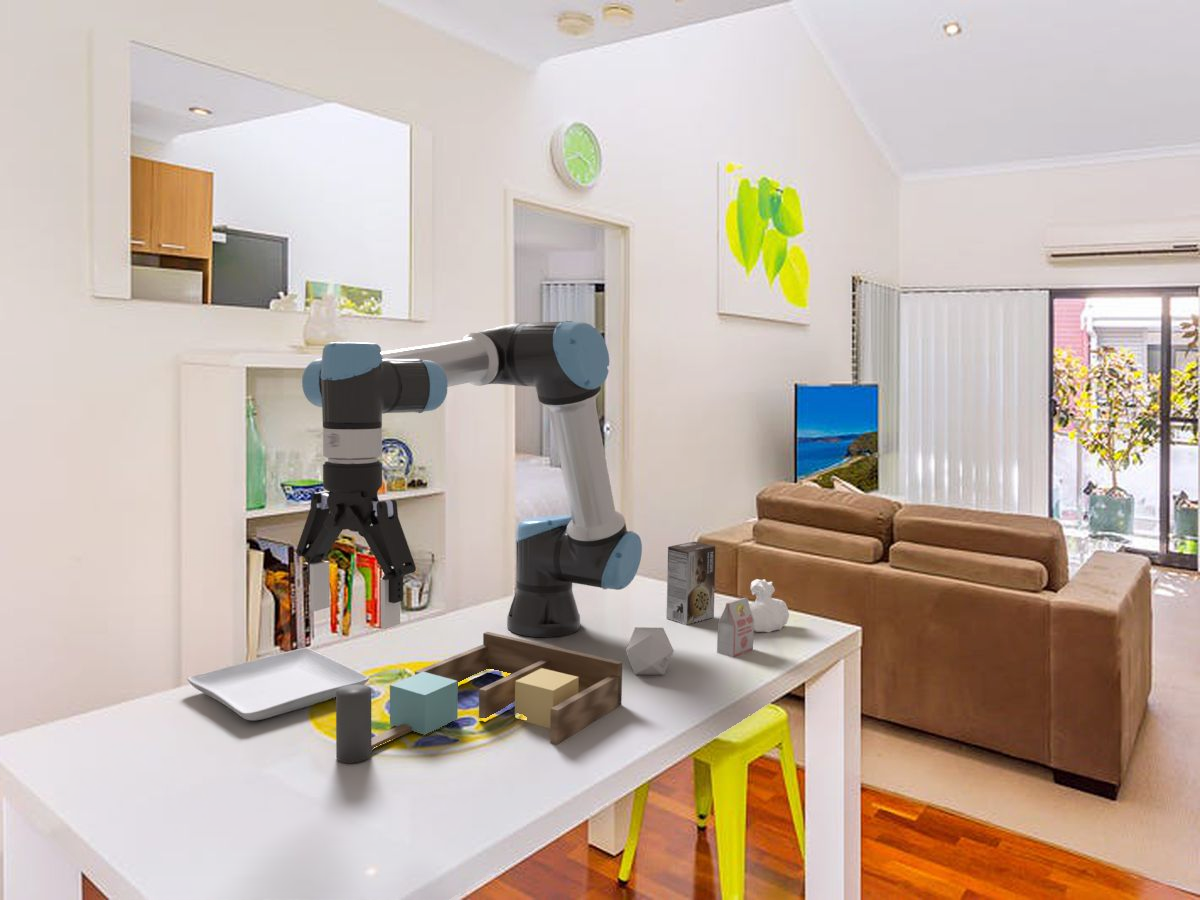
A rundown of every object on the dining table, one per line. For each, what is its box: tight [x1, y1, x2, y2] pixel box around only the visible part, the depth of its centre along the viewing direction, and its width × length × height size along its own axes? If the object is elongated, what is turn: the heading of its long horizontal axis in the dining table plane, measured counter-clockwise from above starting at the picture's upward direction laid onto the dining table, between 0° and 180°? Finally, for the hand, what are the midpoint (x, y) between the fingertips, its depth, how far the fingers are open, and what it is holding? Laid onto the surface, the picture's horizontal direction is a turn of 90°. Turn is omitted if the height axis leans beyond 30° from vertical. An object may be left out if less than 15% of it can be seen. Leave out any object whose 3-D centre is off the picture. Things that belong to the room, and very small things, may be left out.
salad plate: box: [187, 647, 370, 721], centre depth 138 cm, size 21×21×3 cm
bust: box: [749, 578, 790, 633], centre depth 181 cm, size 12×8×11 cm
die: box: [625, 626, 675, 676], centre depth 152 cm, size 8×9×10 cm
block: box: [514, 668, 579, 729], centre depth 131 cm, size 7×7×6 cm
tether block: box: [335, 672, 459, 763], centre depth 122 cm, size 19×7×9 cm, turn 148°
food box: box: [665, 541, 716, 625], centre depth 186 cm, size 9×6×16 cm
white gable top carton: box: [716, 597, 755, 658], centre depth 164 cm, size 4×7×10 cm, turn 137°
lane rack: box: [414, 631, 623, 745], centre depth 136 cm, size 18×28×7 cm, turn 58°
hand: (354, 617), depth 115 cm, fingers open, 13 cm apart
